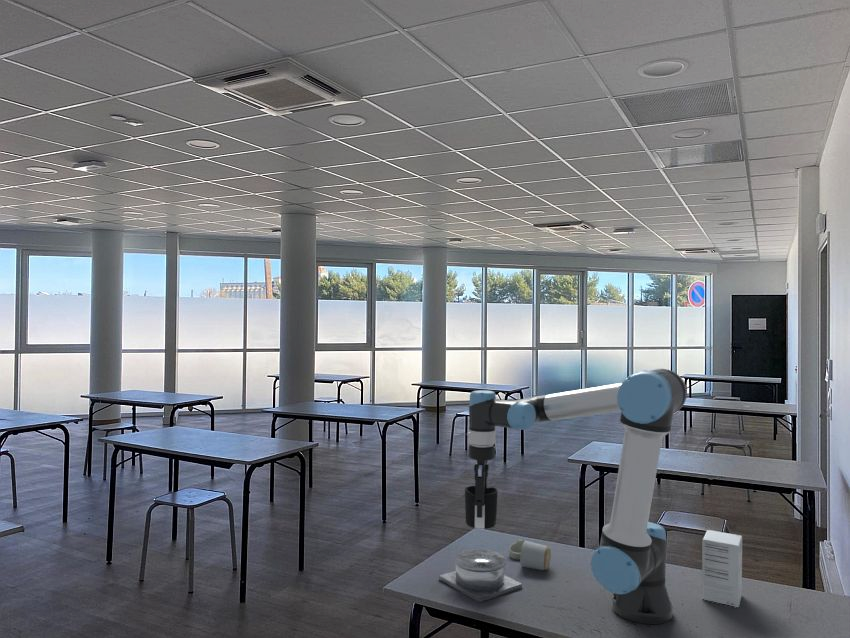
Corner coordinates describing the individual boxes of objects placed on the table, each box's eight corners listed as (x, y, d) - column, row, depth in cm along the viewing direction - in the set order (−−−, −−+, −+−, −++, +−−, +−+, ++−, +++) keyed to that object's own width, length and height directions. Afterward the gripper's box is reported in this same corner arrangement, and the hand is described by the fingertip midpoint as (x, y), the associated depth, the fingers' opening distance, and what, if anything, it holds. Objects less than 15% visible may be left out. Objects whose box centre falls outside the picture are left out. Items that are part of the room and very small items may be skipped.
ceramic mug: (546, 574, 186) (546, 548, 187) (519, 570, 190) (519, 544, 190) (553, 562, 196) (553, 538, 196) (527, 558, 199) (528, 534, 200)
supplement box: (706, 587, 178) (706, 528, 178) (742, 595, 173) (742, 534, 173) (701, 600, 170) (701, 538, 170) (738, 608, 165) (739, 545, 165)
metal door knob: (522, 588, 177) (522, 562, 177) (479, 602, 168) (479, 575, 168) (480, 567, 192) (480, 543, 192) (439, 579, 182) (439, 555, 182)
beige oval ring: (533, 552, 205) (533, 537, 205) (539, 559, 198) (540, 544, 198) (506, 553, 203) (506, 538, 203) (512, 561, 197) (512, 545, 197)
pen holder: (478, 532, 173) (479, 496, 173) (457, 522, 181) (458, 488, 181) (504, 525, 178) (504, 491, 178) (482, 517, 186) (483, 483, 186)
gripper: (472, 436, 191) (471, 510, 191) (465, 451, 169) (464, 534, 169) (496, 437, 190) (495, 511, 190) (492, 453, 168) (491, 536, 168)
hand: (480, 522), depth 180 cm, fingers closed on pen holder, 9 cm apart
